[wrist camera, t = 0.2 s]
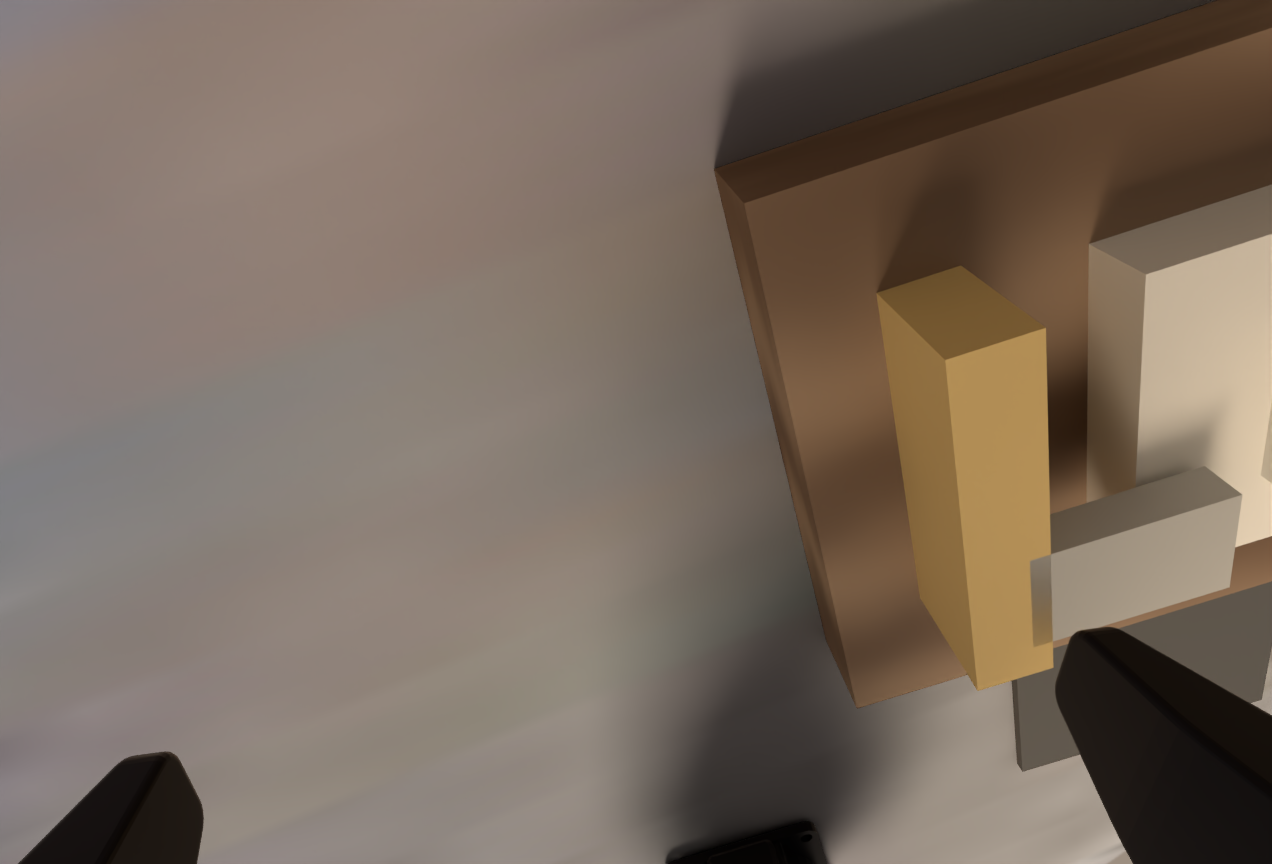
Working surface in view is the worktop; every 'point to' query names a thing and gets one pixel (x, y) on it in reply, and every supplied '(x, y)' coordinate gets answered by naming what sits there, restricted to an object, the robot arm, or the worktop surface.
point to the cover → (1184, 354)
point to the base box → (992, 251)
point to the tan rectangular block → (1024, 492)
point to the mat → (1194, 636)
